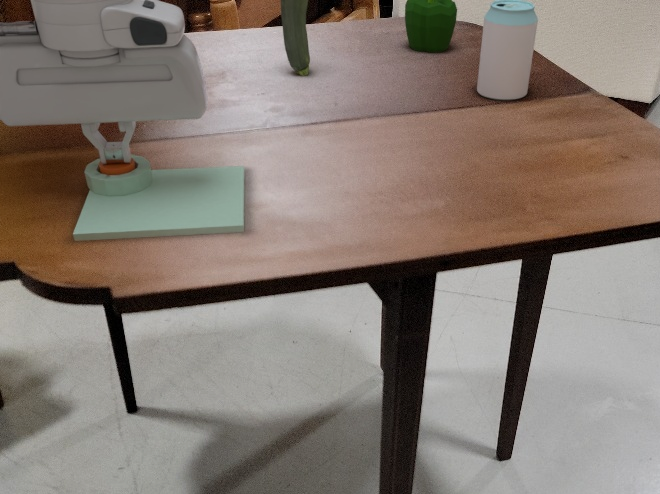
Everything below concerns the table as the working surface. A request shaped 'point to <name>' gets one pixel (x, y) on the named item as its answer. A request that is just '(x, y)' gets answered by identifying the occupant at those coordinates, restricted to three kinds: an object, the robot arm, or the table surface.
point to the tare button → (117, 168)
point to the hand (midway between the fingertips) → (116, 161)
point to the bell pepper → (430, 24)
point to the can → (507, 49)
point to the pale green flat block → (161, 202)
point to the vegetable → (296, 34)
